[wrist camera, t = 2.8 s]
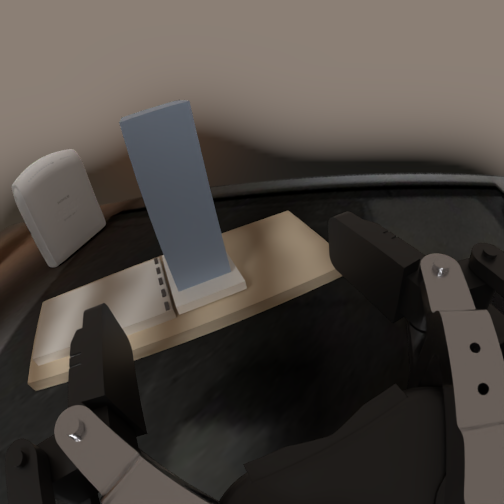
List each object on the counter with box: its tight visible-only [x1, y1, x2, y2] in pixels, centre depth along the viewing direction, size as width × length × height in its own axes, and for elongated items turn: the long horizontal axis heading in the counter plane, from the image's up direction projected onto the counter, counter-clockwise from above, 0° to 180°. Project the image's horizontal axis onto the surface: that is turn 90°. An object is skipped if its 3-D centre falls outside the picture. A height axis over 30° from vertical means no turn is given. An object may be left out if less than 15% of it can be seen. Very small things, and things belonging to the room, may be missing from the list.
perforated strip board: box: [28, 211, 342, 391], centre depth 23 cm, size 26×10×2 cm, turn 112°
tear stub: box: [119, 100, 247, 315], centre depth 20 cm, size 5×7×13 cm
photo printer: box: [12, 149, 106, 267], centre depth 31 cm, size 10×4×12 cm, turn 155°
